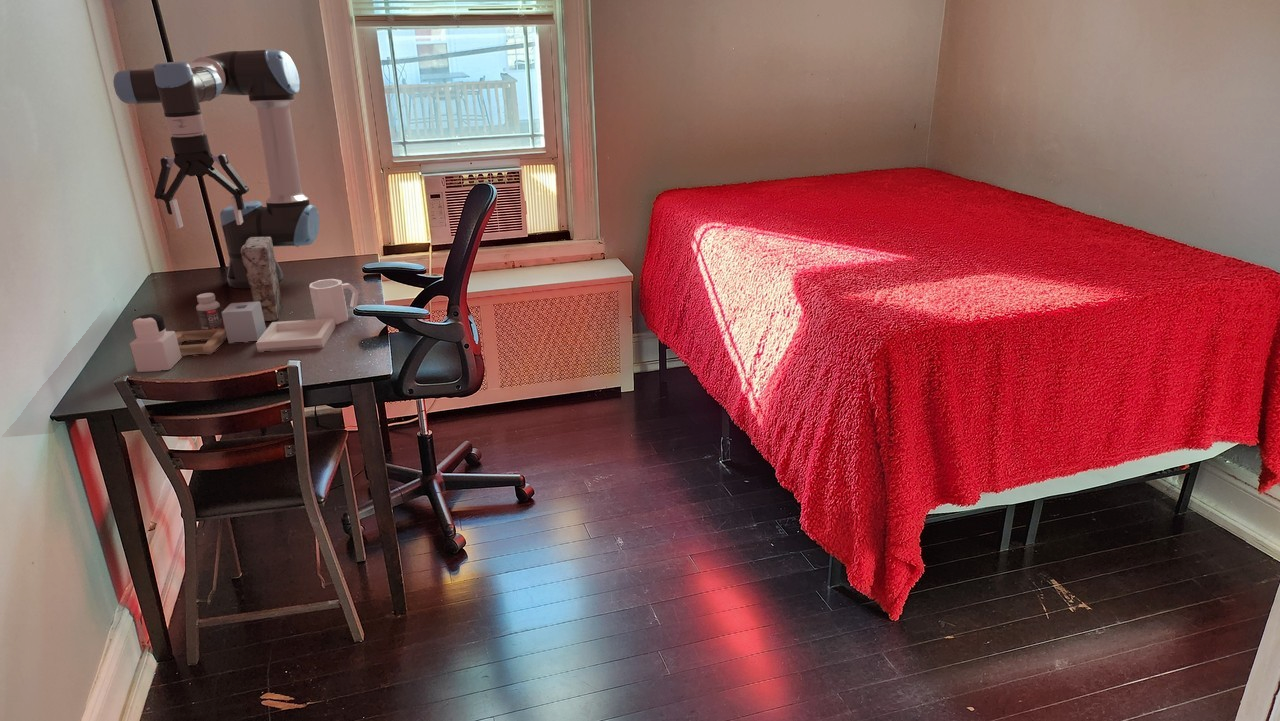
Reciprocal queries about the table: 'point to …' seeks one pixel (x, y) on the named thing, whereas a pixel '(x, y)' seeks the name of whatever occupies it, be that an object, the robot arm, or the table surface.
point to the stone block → (262, 275)
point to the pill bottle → (209, 312)
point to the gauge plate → (213, 335)
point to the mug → (331, 299)
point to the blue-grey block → (244, 321)
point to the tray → (296, 335)
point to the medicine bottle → (154, 344)
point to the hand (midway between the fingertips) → (210, 225)
